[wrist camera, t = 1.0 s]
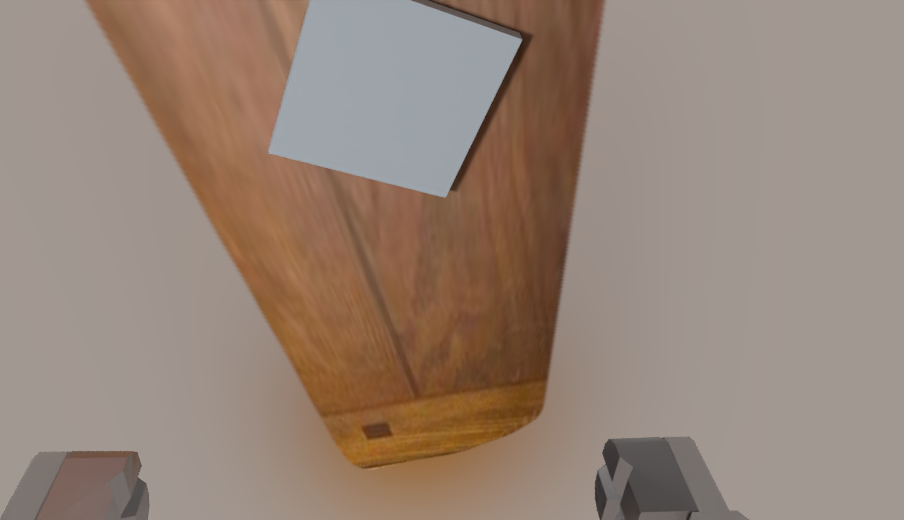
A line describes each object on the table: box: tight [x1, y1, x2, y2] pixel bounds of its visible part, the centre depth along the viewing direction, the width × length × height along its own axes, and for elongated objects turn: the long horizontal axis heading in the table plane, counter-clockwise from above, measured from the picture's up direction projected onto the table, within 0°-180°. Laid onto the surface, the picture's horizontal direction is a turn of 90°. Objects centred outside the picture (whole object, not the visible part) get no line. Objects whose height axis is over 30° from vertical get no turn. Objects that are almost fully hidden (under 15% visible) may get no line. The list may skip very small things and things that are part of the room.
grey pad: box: [268, 0, 522, 198], centre depth 46 cm, size 13×13×1 cm
